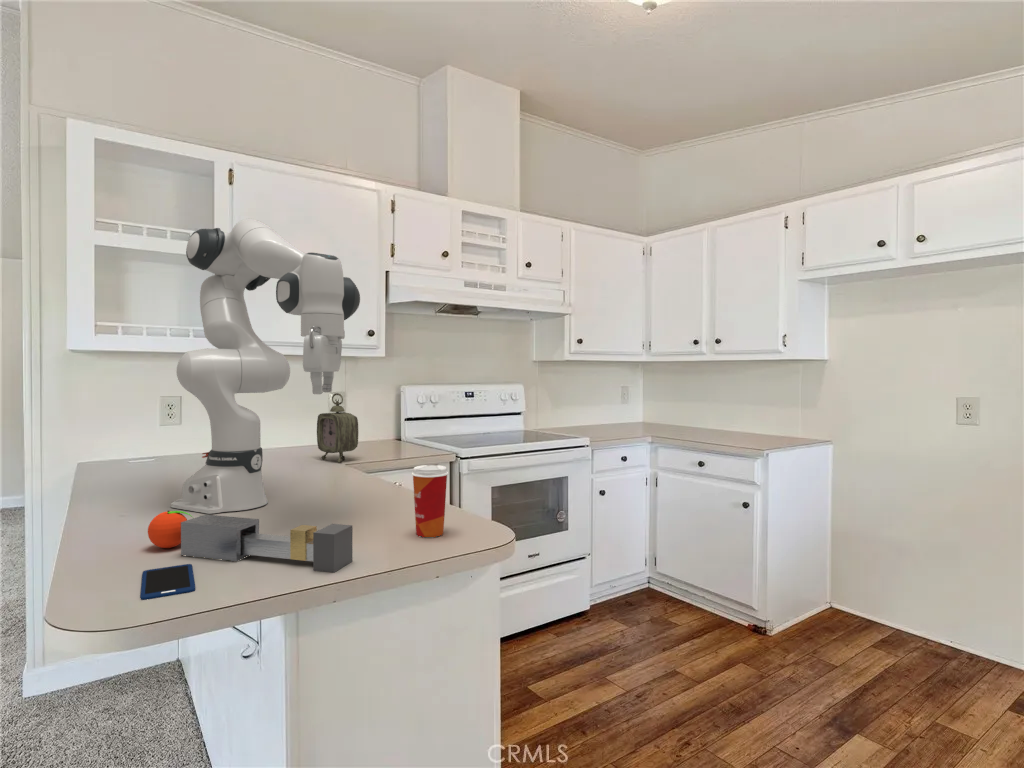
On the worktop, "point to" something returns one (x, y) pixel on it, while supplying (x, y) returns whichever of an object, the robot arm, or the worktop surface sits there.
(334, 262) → the robot arm
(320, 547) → the socket
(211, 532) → the sleeve
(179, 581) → the cell phone
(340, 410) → the tabletop clock
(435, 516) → the paper cup
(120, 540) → the worktop surface
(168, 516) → the clementine
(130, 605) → the worktop surface
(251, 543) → the gold-banded square post
